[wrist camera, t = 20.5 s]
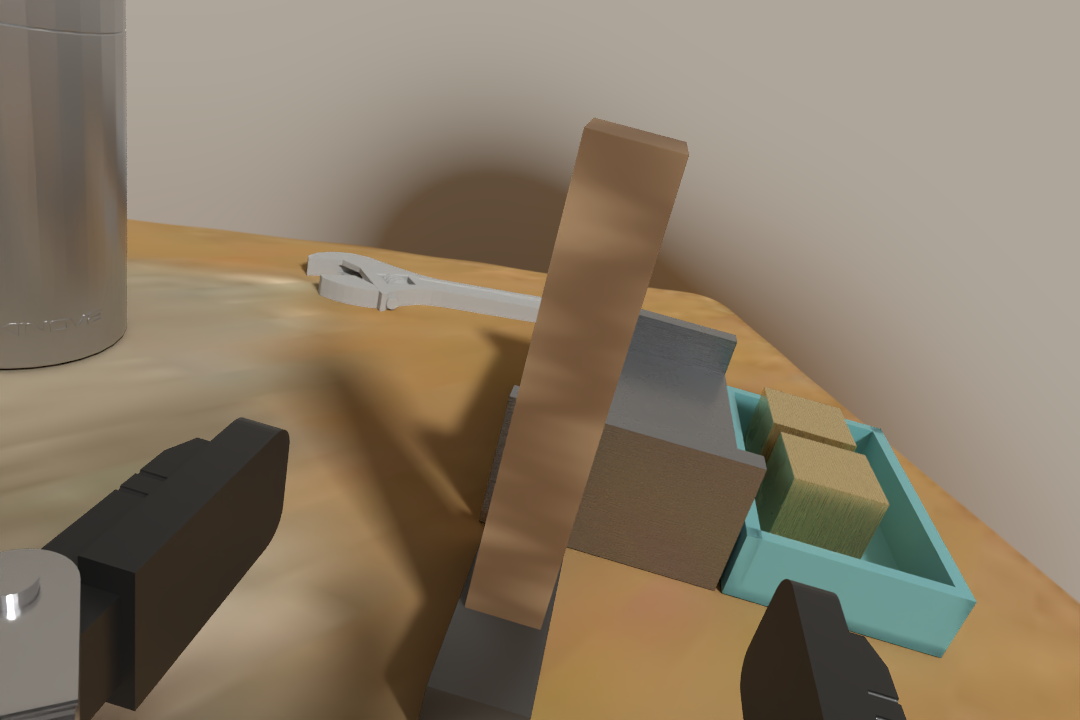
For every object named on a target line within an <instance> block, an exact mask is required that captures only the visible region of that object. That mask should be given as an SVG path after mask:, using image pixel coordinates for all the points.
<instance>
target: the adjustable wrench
mask: <svg viewBox="0 0 1080 720" xmlns="http://www.w3.org/2000/svg"><path fill="white" fill-rule="evenodd" d="M306 274H307V275H318V276H320V281H319V289H318V293H319V294H320V295H321V296H323V297H326V298H329V299H332V300H334V301H338V302H341V303H346V304H350V305H356V306H362V307H369V308H377V309H378V310H379V311H385V310H387V309H388V308H389V309H391V310H392V309H395V308H397V306H406V305H430V306H439V307H445V308H451V309H457V310H463V311H469V312H475V313H481V314H487V315H493V316H499V317H505V318H511V319H517V320H523V321H529V322H535V323H536V319H537V315H538V311H539V307H540V303H541V299H542V297H537V296H532V295H526V294H520V293H514V292H508V291H503V290H497V289H491V288H485V287H479V286H474V285H468V284H462V283H456V282H451V281H445V280H439V279H435V278H430V277H426V276H423V275H419V274H416V273H413V272H410V271H406V270H403V269H400V268H397V267H394V266H392V265H389V264H386V263H383V262H381V261H378V260H375V259H372V258H369V257H366V256H362V255H357V254H352V253H343V252H322V253H315V254H312V255H309V256H308V264H307V273H306Z"/></svg>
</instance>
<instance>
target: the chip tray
mask: <svg viewBox="0 0 1080 720" xmlns="http://www.w3.org/2000/svg"><path fill="white" fill-rule="evenodd" d="M727 391H728V397H729V402H730V408H731V414H732V420H733V426H734V431H735V437H736V443H737V449H741V450H744V451H745V446H744V441H743V438H744V436H745V433H746V431H747V428H748V426H749V424H750V421H751V419H752V416H753V414H754V411H755V409H756V406H757V404H758V402H759V399H760V397H761V395H758V394H755V393H751V392H747V391H744V390H740V389H737V388H733V387H730V386H727ZM845 421H846V423H847V426H848V428H849V430H850V432H851V435H852V437H853V439H854V441H855V443H856V446H857V447H856V449H855V451H854V452H855V453H859V454H862V455H865V456H866V458H867V460H868V462H869V464H870V466H871V468H872V470H873V472H874V474H875V476H876V478H877V480H878V482H879V484H880V486H881V488H882V490H883V492H884V494H885V496H886V498H887V500H888V502H889V504H890V505H889V507H888V509H887V511H886V512H885V514H884V516H883V518H882V520H881V522H880V524H879V526H878V528H877V529H876V531H875V533H874V535H873V537H872V539H871V541H870V543H869V544H868V546H867V548H866V550H865V552H864V554H863V556H862V558H861V559H857V558H854V557H850V556H847V555H844V554H840V553H837V552H833V551H830V550H826V549H823V548H819V547H816V546H813V545H809V544H806V543H802V542H799V541H795V540H792V539H789V538H785V537H782V536H778V535H775V534H771V533H768V532H765V531H761V529H760V524H759V519H758V514H757V509H756V503H755V499H754V501H753V503H752V505H751V508H750V510H749V512H748V515H747V517H746V519H745V522H744V524H743V526H742V528H741V531H740V533H739V535H738V538H737V540H736V542H735V545H734V547H733V549H732V551H731V554H730V556H729V558H728V561H727V563H726V565H725V568H724V570H723V572H722V574H721V577H720V579H721V589H722V593H724V594H727V595H730V596H734V597H737V598H740V599H744V600H747V601H751V602H754V603H757V604H761V605H764V606H767V607H768V605H769V603H770V601H771V599H772V597H773V595H774V593H775V591H776V589H777V587H778V585H779V584H780V583H781V581H783V580H784V579H789V580H793V581H796V582H799V583H803V584H806V585H810V586H813V587H816V588H820V589H823V590H827V591H830V592H833V593H835V594H836V595H837V596H838V598H839V601H840V604H841V607H842V610H843V613H844V616H845V620H846V623H847V626H848V629H849V631H852V632H855V633H859V634H862V635H865V636H869V637H872V638H875V639H879V640H882V641H886V642H889V643H892V644H896V645H899V646H902V647H906V648H909V649H913V650H916V651H919V652H923V653H926V654H929V655H933V656H936V657H940V658H941V657H942V656H943V654H944V652H945V651H946V649H947V648H948V646H949V645H950V643H951V641H952V640H953V638H954V637H955V635H956V634H957V632H958V631H959V629H960V627H961V626H962V624H963V623H964V621H965V620H966V618H967V616H968V615H969V613H970V612H971V610H972V609H973V607H974V605H975V604H976V600H975V598H974V596H973V595H972V593H971V591H970V589H969V587H968V586H967V584H966V582H965V580H964V578H963V577H962V575H961V573H960V571H959V569H958V568H957V566H956V564H955V562H954V560H953V559H952V557H951V555H950V553H949V551H948V550H947V548H946V546H945V544H944V542H943V541H942V539H941V537H940V535H939V533H938V532H937V530H936V528H935V526H934V524H933V522H932V521H931V519H930V517H929V515H928V513H927V512H926V510H925V508H924V506H923V504H922V503H921V501H920V499H919V497H918V495H917V494H916V492H915V490H914V488H913V486H912V485H911V483H910V481H909V479H908V477H907V476H906V474H905V472H904V470H903V468H902V467H901V465H900V463H899V461H898V459H897V458H896V456H895V454H894V452H893V450H892V449H891V447H890V445H889V443H888V441H887V439H886V438H885V436H884V434H883V432H882V430H881V429H879V428H875V427H872V426H868V425H865V424H861V423H858V422H854V421H850V420H847V419H845Z"/></svg>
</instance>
